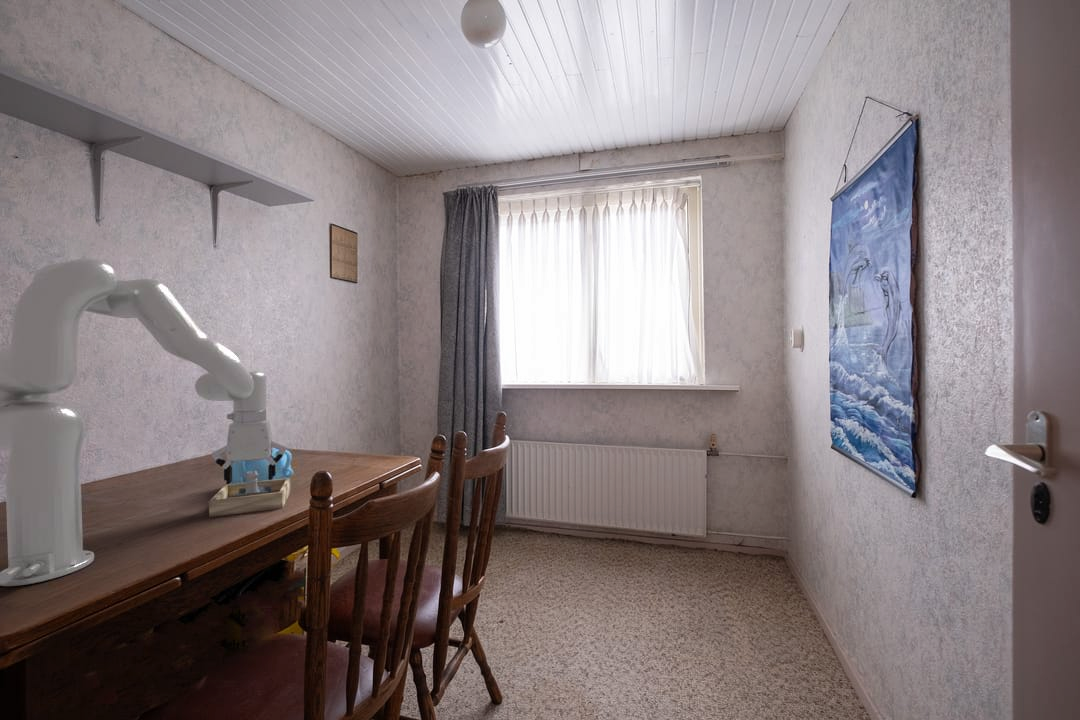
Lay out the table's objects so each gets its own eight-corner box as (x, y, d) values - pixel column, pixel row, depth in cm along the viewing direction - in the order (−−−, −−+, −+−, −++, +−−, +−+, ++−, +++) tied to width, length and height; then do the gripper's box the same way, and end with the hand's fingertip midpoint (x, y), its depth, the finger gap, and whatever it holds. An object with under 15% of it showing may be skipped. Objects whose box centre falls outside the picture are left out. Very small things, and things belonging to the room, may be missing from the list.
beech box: (282, 507, 120) (282, 492, 120) (209, 517, 114) (208, 501, 114) (290, 491, 135) (290, 478, 135) (226, 499, 129) (225, 484, 129)
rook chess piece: (265, 499, 126) (265, 470, 126) (251, 504, 122) (251, 474, 122) (252, 498, 127) (251, 469, 127) (238, 503, 123) (237, 473, 123)
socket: (266, 503, 122) (266, 491, 122) (233, 507, 120) (232, 495, 120) (271, 495, 130) (271, 484, 129) (240, 499, 127) (239, 488, 127)
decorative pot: (229, 485, 144) (227, 442, 144) (287, 476, 153) (286, 435, 153) (231, 497, 131) (229, 450, 130) (295, 487, 140) (293, 442, 140)
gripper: (207, 420, 117) (207, 488, 117) (284, 417, 124) (285, 480, 124) (215, 417, 124) (216, 481, 124) (288, 414, 131) (288, 474, 131)
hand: (250, 480), depth 124 cm, fingers open, 9 cm apart
